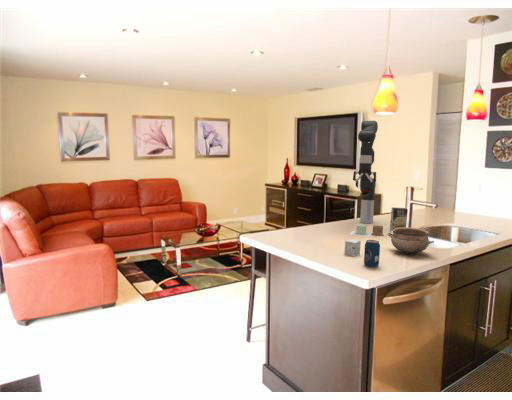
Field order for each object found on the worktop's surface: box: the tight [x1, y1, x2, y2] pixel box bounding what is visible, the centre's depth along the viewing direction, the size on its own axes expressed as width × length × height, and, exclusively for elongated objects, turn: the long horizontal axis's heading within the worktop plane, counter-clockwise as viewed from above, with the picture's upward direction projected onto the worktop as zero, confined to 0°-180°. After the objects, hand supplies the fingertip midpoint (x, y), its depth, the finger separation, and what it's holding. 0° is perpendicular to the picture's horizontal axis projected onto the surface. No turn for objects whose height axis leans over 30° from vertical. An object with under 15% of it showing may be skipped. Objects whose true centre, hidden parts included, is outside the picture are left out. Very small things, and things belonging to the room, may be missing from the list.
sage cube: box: [355, 223, 367, 235], centre depth 254 cm, size 6×6×6 cm
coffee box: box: [389, 206, 409, 232], centre depth 262 cm, size 9×6×16 cm
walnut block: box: [371, 224, 384, 237], centre depth 252 cm, size 6×6×6 cm
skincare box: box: [344, 238, 362, 257], centre depth 206 cm, size 6×6×7 cm
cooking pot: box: [387, 226, 435, 255], centre depth 210 cm, size 25×19×12 cm
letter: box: [348, 230, 373, 238], centre depth 255 cm, size 12×13×1 cm
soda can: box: [363, 239, 381, 269], centre depth 187 cm, size 7×7×12 cm
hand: (364, 187), depth 252 cm, fingers open, 8 cm apart
